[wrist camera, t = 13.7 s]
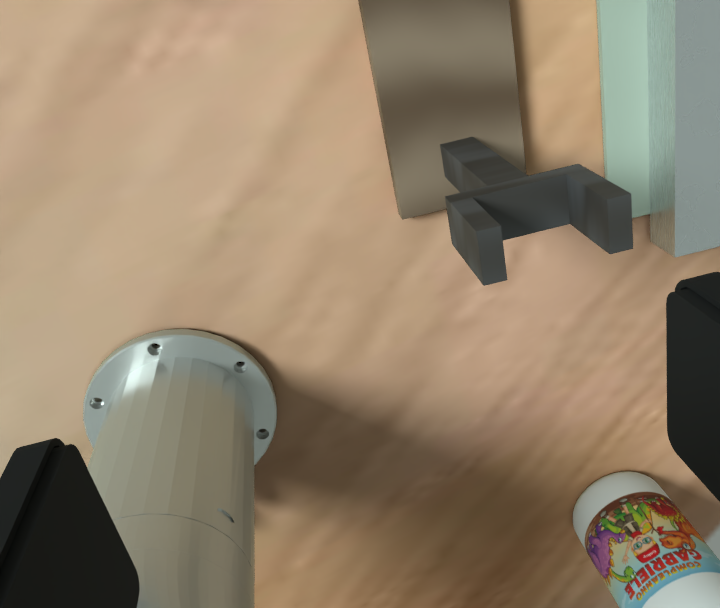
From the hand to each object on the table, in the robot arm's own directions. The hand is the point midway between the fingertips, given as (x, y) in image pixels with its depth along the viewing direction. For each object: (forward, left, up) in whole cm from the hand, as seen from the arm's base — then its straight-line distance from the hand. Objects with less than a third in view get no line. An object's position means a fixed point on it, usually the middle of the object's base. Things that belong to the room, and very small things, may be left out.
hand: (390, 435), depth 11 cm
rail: (-2, -23, -32) cm, 39 cm away
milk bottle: (-37, -18, -32) cm, 52 cm away
